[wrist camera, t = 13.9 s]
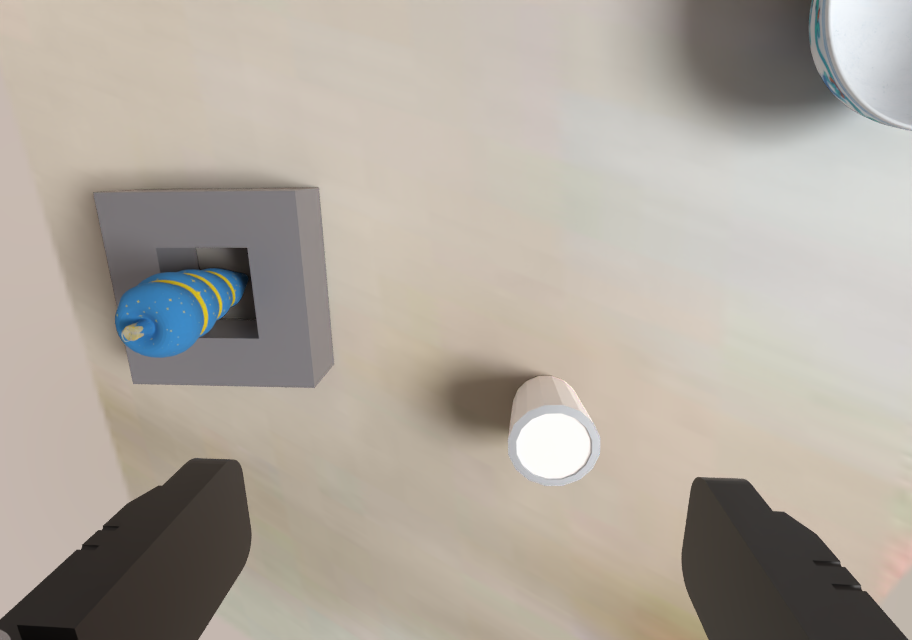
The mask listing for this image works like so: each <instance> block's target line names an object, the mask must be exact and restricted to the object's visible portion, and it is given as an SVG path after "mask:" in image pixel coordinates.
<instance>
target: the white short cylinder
mask: <svg viewBox="0 0 912 640" xmlns="http://www.w3.org/2000/svg"><path fill="white" fill-rule="evenodd" d="M508 455H509V457H510V459H511V461H512V463H513V465H514V467H515V469H516V470H517V471H518V472H520V473H521V474H522V475H523V476H524V477H526V478H527V479H528V480H530V481H533V482H536V483H539V484H541V485H544V486H564V485H566V484H569V483H572V482H575V481H577V480H580V479H581V478H582V477H583V476H585V475H586V474H587V473H588V472H589V471H590V470H592V469H593V467H594V465H595V463H596V461H597V459H598V457H599V455H600V436H599V434H598V431H597V429H596V427H595V425H594V423H593V421H592V419H591V418H590V416H589V414H588V413H587V411H586V409H585V408H584V406H583V404H582V403H581V401H580V399H579V398H578V396H577V394H576V393H575V391H574V389H573V388H572V387H571V386H570V385H569V384H568V383H566V382H565V381H564V380H563V379H560V378H557V377H554V376H537V377H535V378H532V379H530V380H527V381H526V382H525V383H524V384H523V385H522V386H521V387H520V388H519V389H518V390H517V392H516V395H515V397H514V400H513V406H512V413H511V420H510V428H509V435H508Z"/></svg>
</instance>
